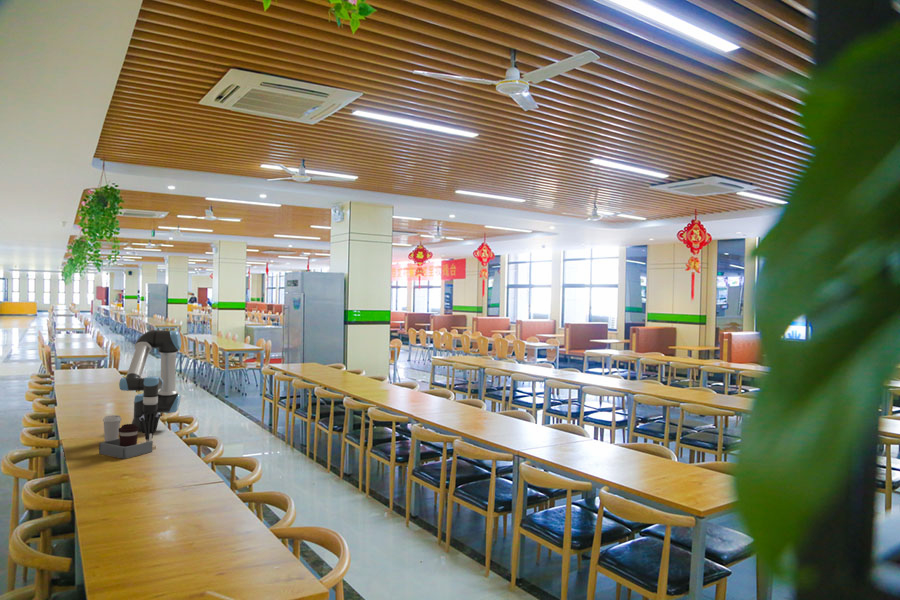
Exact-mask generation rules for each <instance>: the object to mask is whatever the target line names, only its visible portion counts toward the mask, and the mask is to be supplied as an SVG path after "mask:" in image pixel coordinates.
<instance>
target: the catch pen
mask: <svg viewBox="0 0 900 600" xmlns="http://www.w3.org/2000/svg"><path fill="white" fill-rule="evenodd" d="M140 443H141V444H139V443H137V444H136V445H132V446H128V447H122V446H120V438H119V437H118V439H114V440H109V441H105V440H104V441H101V442H99V449H98V453H99V455H103V456H104V455H105V456H107V455H108V457H112V456H113V458H116V457H117V459H121V458H122V460H125V459H126V458H127V459H129V458H133V457H138V456H141V455H146V454H149V453H153V450H152V446H153V443H154V442H153V440H152V441H149V442H146V441H145V442H140Z"/></svg>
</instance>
